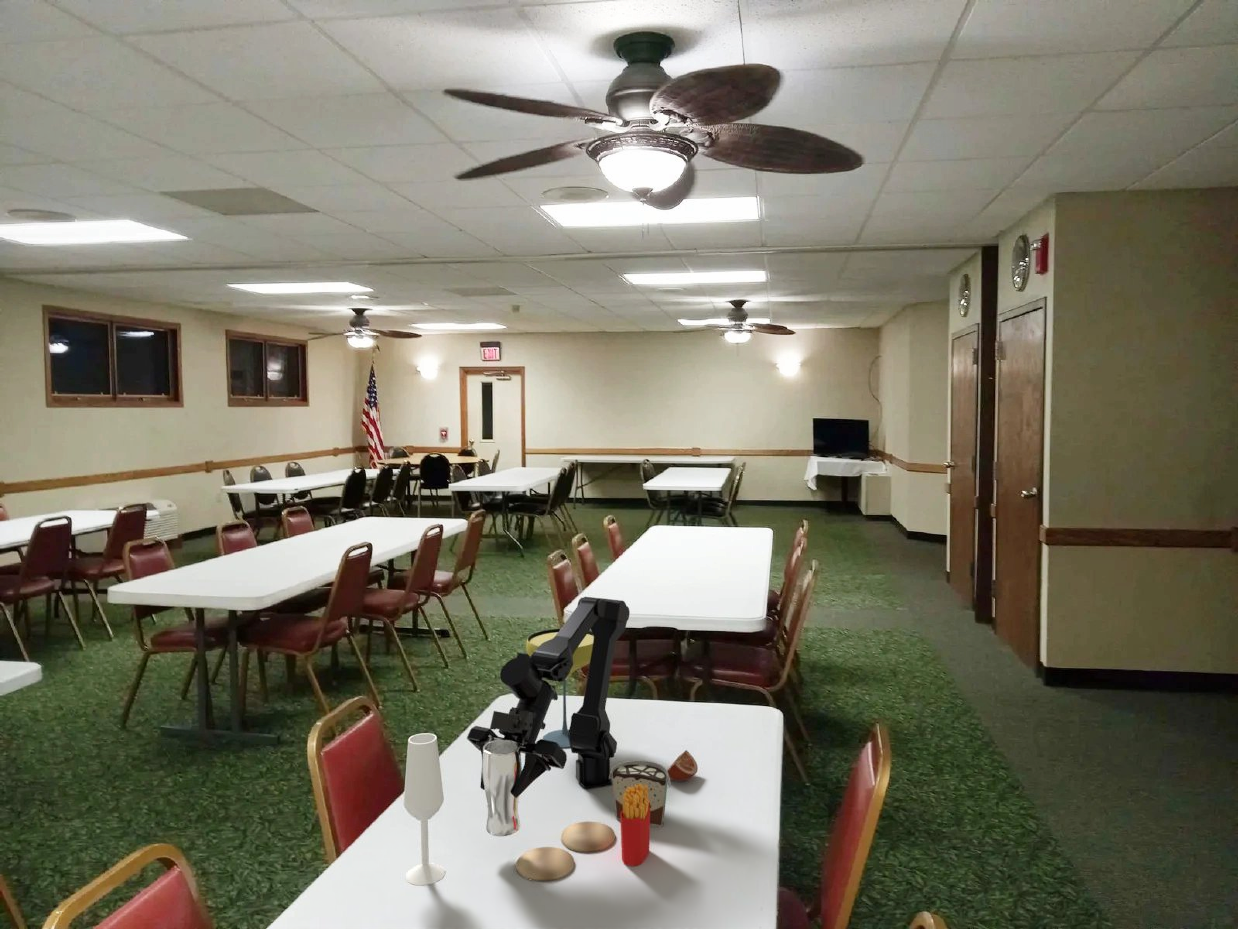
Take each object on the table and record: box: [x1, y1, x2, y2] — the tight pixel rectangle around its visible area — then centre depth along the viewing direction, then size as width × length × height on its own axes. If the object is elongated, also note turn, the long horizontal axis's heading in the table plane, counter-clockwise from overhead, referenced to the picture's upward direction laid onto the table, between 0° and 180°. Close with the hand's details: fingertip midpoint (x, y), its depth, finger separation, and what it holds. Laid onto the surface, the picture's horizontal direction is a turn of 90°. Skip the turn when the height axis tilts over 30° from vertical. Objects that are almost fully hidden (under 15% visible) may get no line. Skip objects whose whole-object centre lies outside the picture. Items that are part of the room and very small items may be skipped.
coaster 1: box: [516, 846, 575, 882], centre depth 146 cm, size 10×10×1 cm
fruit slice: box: [666, 749, 698, 782], centre depth 179 cm, size 8×7×5 cm
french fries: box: [619, 784, 651, 867], centre depth 148 cm, size 8×4×12 cm, turn 157°
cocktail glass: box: [525, 628, 594, 749], centre depth 200 cm, size 18×18×25 cm
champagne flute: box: [403, 732, 446, 886], centre depth 142 cm, size 7×7×24 cm
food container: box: [609, 760, 672, 828], centre depth 163 cm, size 12×6×10 cm, turn 71°
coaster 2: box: [560, 821, 616, 853], centre depth 155 cm, size 10×10×1 cm
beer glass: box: [481, 739, 523, 837], centre depth 148 cm, size 7×7×15 cm
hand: (498, 792), depth 147 cm, fingers closed on beer glass, 7 cm apart
